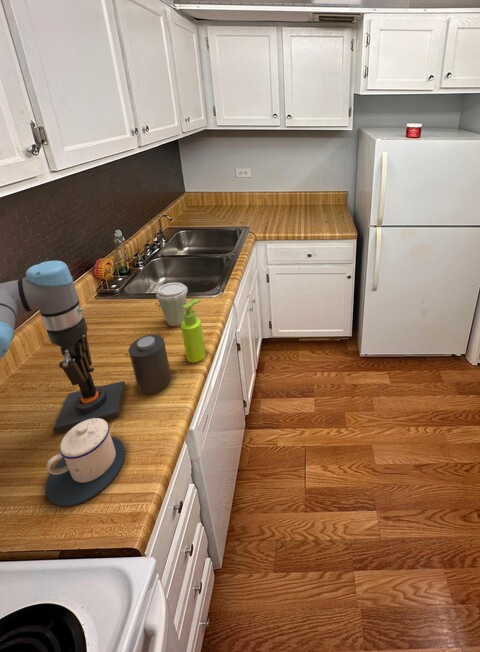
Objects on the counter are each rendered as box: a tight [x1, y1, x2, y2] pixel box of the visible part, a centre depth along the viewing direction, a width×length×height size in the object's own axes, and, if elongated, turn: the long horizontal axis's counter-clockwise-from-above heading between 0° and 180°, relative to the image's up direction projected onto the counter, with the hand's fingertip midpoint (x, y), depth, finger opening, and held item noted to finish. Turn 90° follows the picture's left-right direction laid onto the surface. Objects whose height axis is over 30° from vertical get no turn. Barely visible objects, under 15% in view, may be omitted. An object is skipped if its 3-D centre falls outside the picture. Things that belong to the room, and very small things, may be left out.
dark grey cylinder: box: [128, 334, 173, 396], centre depth 96 cm, size 9×11×15 cm
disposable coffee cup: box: [155, 282, 188, 327], centre depth 122 cm, size 11×11×15 cm
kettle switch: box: [81, 390, 99, 405], centre depth 89 cm, size 4×4×2 cm
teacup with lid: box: [46, 418, 116, 483], centre depth 73 cm, size 12×9×12 cm
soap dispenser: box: [180, 298, 206, 363], centre depth 105 cm, size 6×7×20 cm
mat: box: [45, 436, 126, 508], centre depth 75 cm, size 15×15×1 cm
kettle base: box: [53, 380, 127, 434], centre depth 89 cm, size 14×11×4 cm
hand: (90, 395), depth 88 cm, fingers closed
